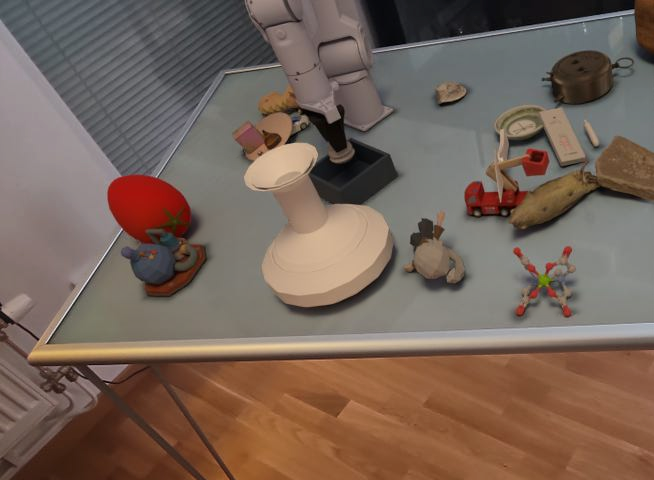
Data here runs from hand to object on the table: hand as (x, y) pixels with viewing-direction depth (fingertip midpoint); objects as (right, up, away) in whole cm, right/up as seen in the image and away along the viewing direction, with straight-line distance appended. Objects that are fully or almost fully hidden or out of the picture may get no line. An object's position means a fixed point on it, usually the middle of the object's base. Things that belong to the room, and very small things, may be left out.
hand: (337, 145), depth 103 cm
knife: (+26, -6, -10) cm, 29 cm away
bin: (+2, -5, +6) cm, 8 cm away
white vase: (+2, -23, -8) cm, 24 cm away
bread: (+62, +24, -4) cm, 67 cm away
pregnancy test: (+38, 0, -1) cm, 38 cm away
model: (-28, -21, +2) cm, 35 cm away
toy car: (-16, +10, +23) cm, 30 cm away
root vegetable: (+36, -11, -15) cm, 41 cm away
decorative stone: (+54, -10, -18) cm, 58 cm away
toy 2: (+17, -22, -12) cm, 31 cm away
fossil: (+15, +17, +17) cm, 28 cm away
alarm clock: (+36, +13, +8) cm, 39 cm away
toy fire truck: (+29, -13, -8) cm, 33 cm away
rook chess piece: (+1, -2, +2) cm, 3 cm away
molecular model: (+37, -28, -25) cm, 52 cm away
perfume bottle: (-19, +9, +21) cm, 29 cm away
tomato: (-39, -6, +7) cm, 40 cm away
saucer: (+32, +4, +5) cm, 32 cm away
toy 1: (-23, +16, +27) cm, 39 cm away
